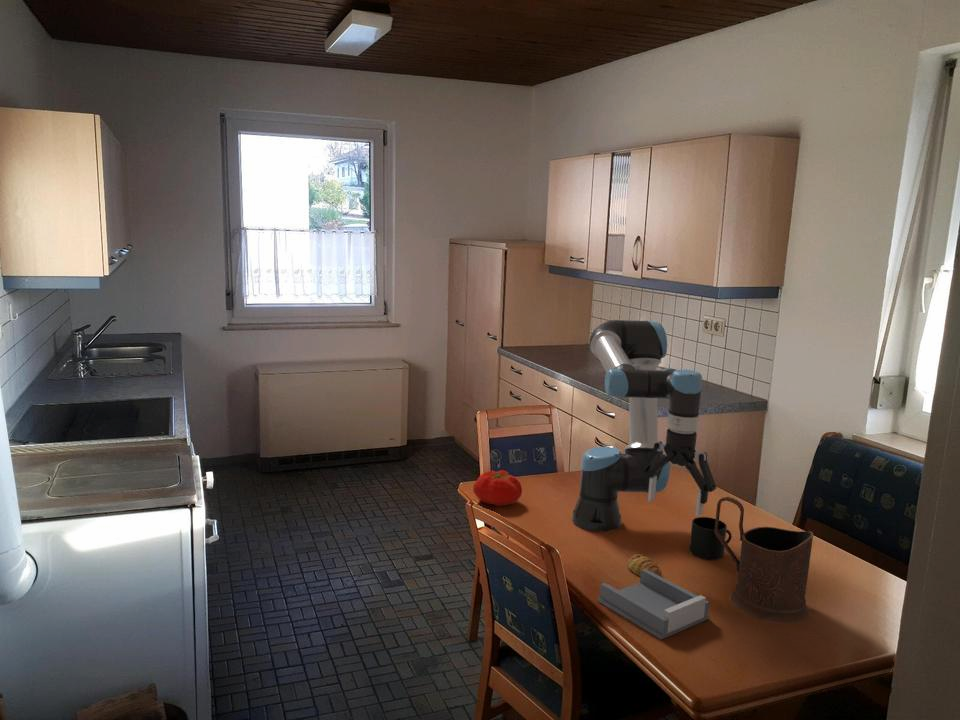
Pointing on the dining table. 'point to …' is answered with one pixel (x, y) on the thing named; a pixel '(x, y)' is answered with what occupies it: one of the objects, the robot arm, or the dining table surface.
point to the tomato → (497, 488)
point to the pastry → (642, 565)
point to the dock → (656, 605)
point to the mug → (707, 538)
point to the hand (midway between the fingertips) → (674, 507)
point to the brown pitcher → (770, 571)
